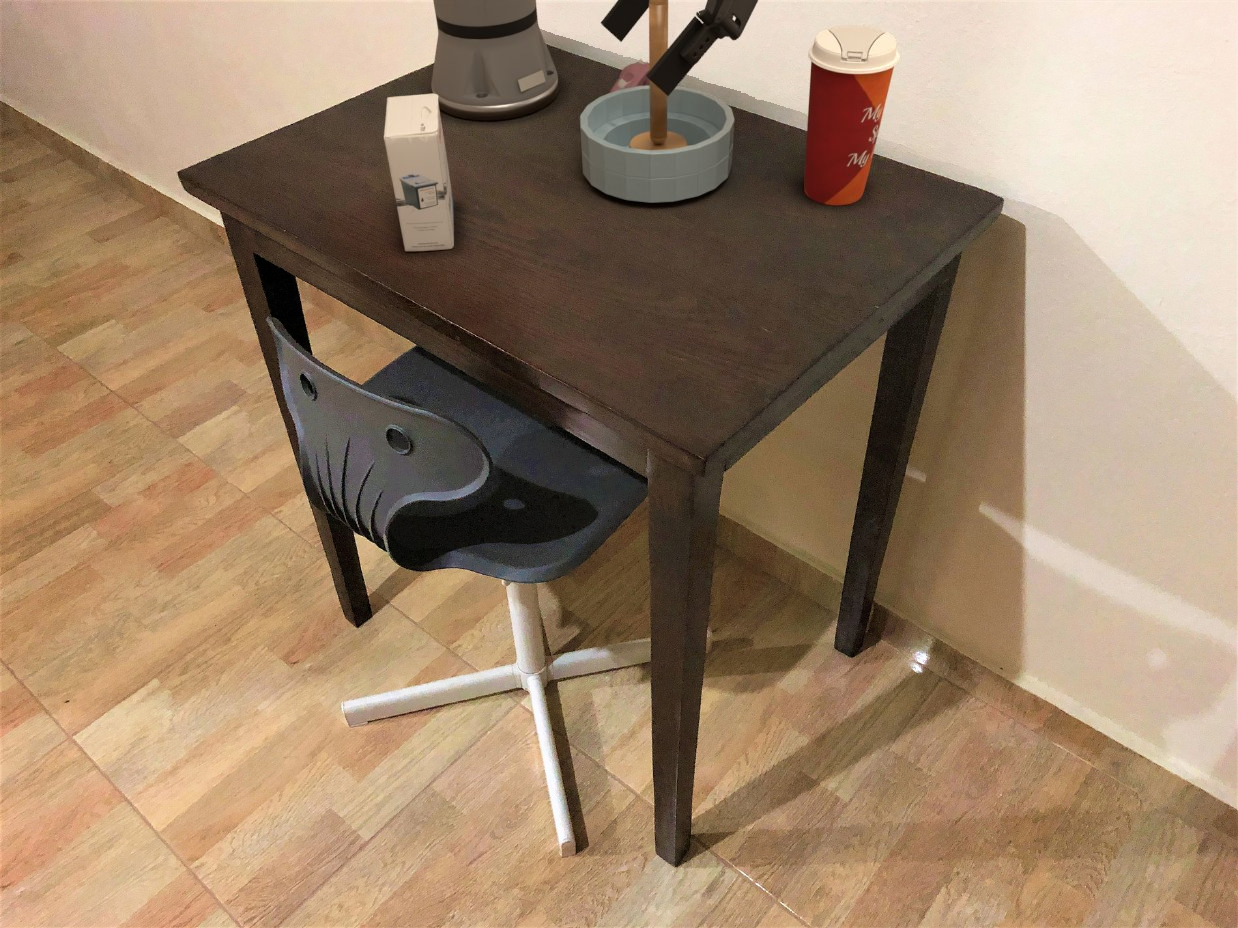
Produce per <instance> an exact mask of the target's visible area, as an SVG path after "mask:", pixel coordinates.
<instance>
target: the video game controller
mask: <svg viewBox="0 0 1238 928" xmlns="http://www.w3.org/2000/svg"><path fill="white" fill-rule="evenodd" d="M648 73H649V61H644V60H642V58H639V60H638V61H636V62H634V63H630V64H628V65H627V66H625V67H623V68H622V70H621V72H620V74H619V77H618V78H617V80H616V81H615V83H614V85H613V86H612V88H611V89H610V91H609V93H612V92H614V91H617V90H621V89H627V88H632V87H637V86H649V79H648V77H647V76H646V75H647V74H648Z"/></svg>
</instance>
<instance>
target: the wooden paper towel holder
mask: <svg viewBox="0 0 1238 928" xmlns="http://www.w3.org/2000/svg"><path fill="white" fill-rule="evenodd" d="M668 48H669V0H649V8H648V59H649V60H648V63H649V71H650V70H651V69H652V68H653V67H654V65H655V64H656V63H657V62H658V60H659V59H660V58H661V57H662V56H663V54H664V53H665V52H666V51H667V49H668ZM649 91H650V131H649V132H645V133H641V134H639V135H637V136H635V137H634V138H633V139H632V140H631V142H630V148H633V149H642V150H667V149H676V148H681V147H686V146H687V141H686V139H685V138H684V137H683V136H681V135H679V134H677V133H674V132H669V131H667V99H668V96H667V95H666V94H665V93H664V92H663V91H662V90H661V89H659V88H658V87H657V86H656V85H655V84H654V83H653V82H652V81H650V80H649Z"/></svg>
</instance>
